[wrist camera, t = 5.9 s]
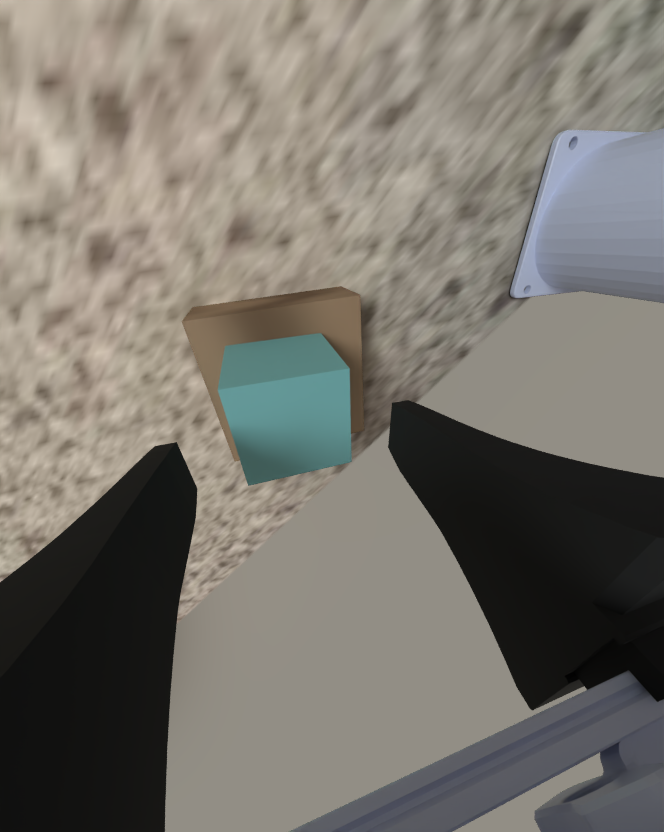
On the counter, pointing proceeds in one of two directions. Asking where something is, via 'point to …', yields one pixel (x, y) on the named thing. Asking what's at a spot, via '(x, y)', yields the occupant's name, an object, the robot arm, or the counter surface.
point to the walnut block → (279, 336)
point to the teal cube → (286, 406)
